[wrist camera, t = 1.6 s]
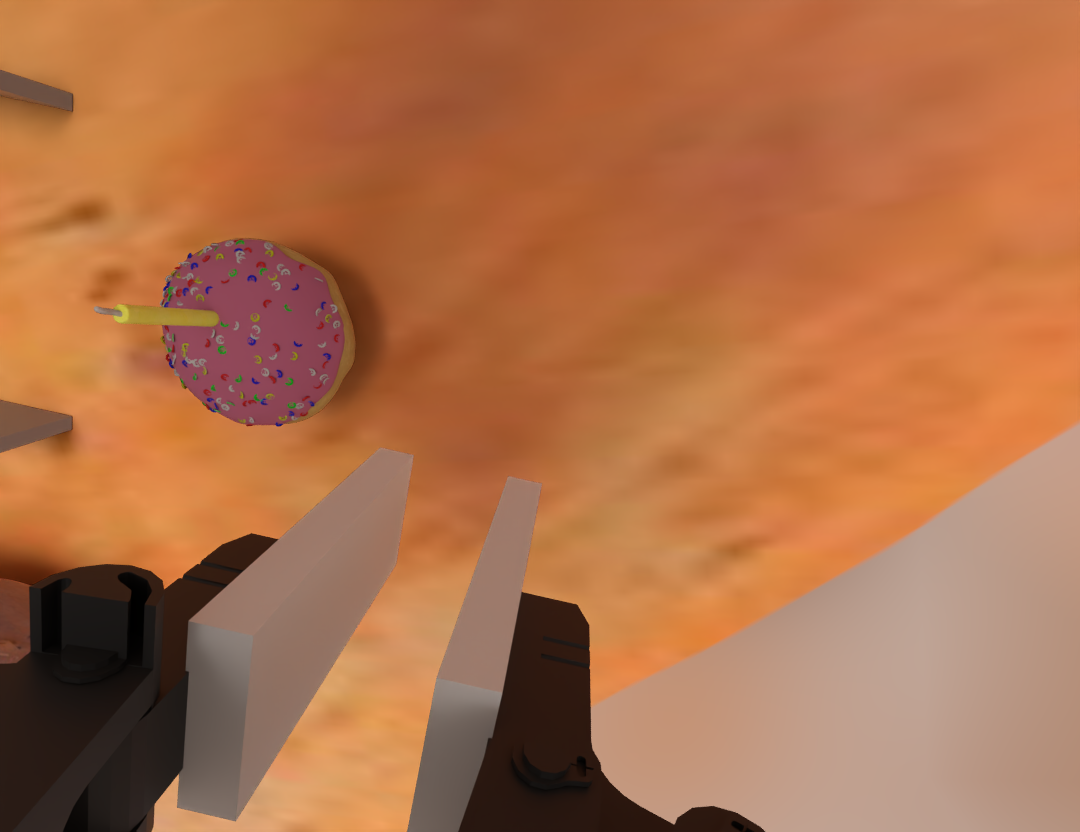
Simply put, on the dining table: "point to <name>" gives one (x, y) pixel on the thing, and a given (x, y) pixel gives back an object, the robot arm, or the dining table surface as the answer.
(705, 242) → the dining table surface
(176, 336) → the cupcake
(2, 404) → the box
